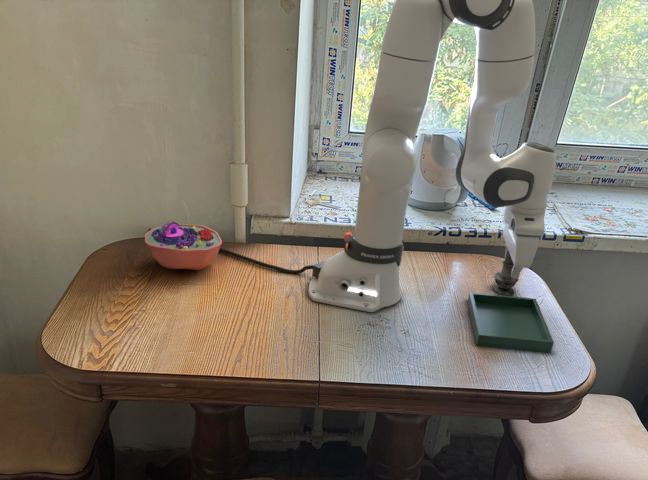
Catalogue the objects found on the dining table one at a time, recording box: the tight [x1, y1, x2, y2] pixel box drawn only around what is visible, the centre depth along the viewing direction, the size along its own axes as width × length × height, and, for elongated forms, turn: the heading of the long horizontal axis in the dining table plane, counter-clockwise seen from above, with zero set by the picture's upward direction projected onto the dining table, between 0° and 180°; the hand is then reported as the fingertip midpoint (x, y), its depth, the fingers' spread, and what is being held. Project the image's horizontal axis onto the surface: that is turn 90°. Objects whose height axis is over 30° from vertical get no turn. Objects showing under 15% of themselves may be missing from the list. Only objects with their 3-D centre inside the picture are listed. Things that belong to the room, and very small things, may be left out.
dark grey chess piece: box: [492, 250, 520, 296], centre depth 148 cm, size 6×6×12 cm
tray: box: [466, 292, 555, 353], centre depth 135 cm, size 16×20×3 cm
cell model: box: [144, 221, 223, 271], centre depth 151 cm, size 17×20×11 cm
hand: (511, 268), depth 148 cm, fingers open, 8 cm apart
